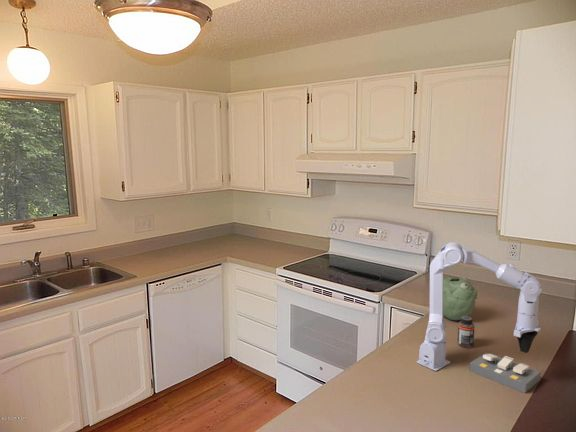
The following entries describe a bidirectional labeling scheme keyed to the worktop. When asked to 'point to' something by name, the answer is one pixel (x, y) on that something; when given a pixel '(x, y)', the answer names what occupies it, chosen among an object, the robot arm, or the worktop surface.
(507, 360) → the rocker
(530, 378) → the switch box
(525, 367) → the rocker
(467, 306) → the cabbage
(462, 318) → the supplement bottle
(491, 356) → the rocker
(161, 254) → the worktop surface
